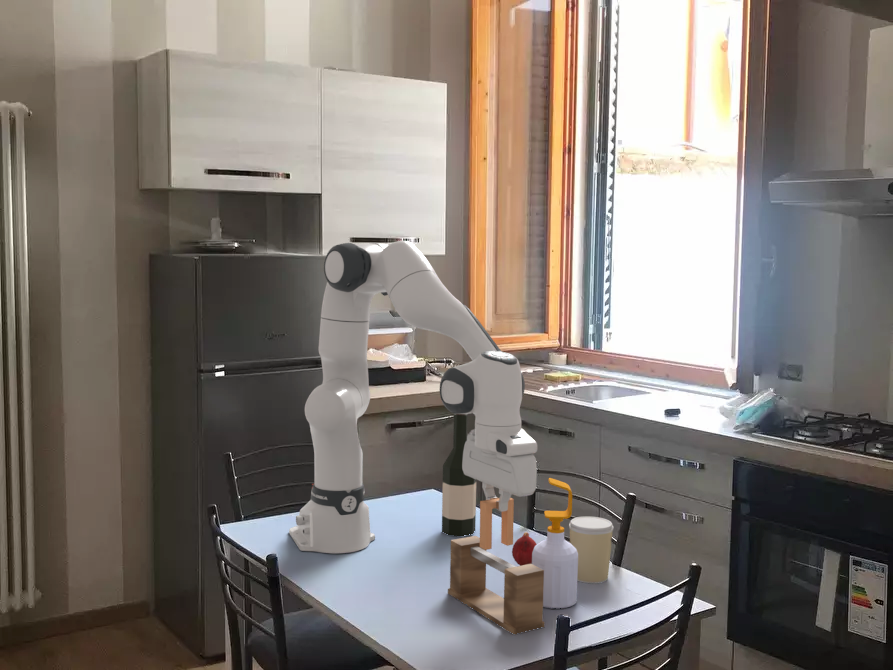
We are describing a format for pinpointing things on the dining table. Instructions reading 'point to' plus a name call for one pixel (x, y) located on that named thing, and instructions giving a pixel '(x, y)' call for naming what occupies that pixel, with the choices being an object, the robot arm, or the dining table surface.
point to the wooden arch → (486, 523)
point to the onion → (523, 550)
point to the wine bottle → (458, 486)
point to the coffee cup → (592, 547)
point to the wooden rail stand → (469, 587)
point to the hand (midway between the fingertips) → (496, 508)
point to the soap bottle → (557, 559)
